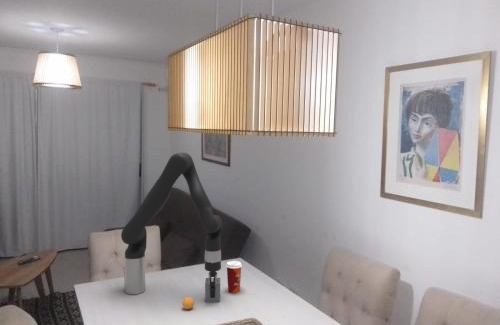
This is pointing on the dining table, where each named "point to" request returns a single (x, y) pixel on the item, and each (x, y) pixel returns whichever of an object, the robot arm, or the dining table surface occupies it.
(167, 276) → the dining table surface
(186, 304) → the ball
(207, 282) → the gray cube
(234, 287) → the paper cup
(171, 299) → the dining table surface
